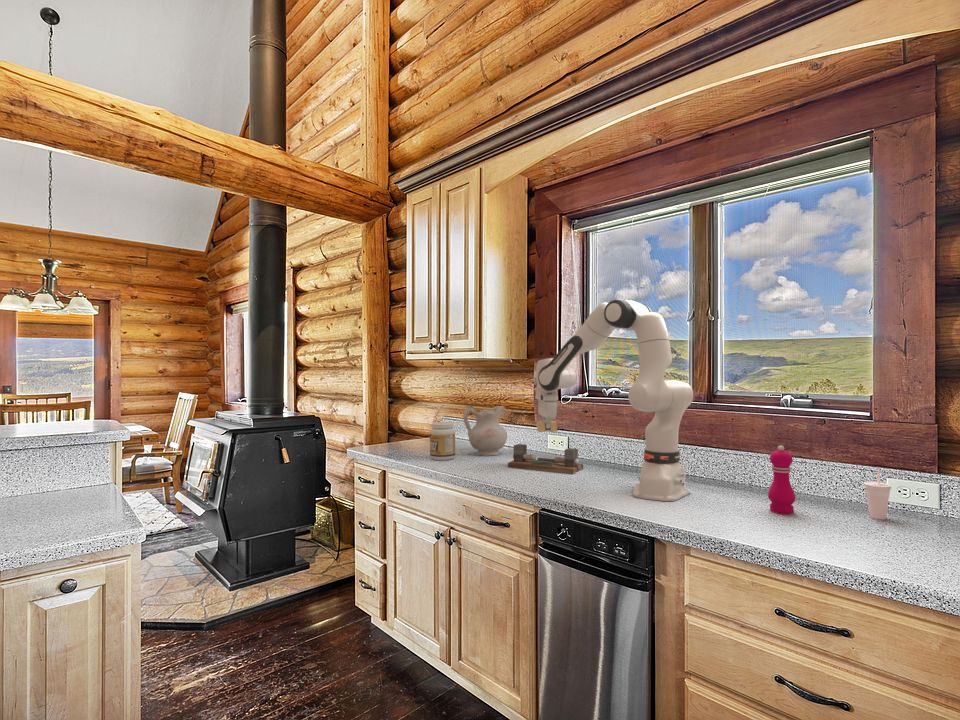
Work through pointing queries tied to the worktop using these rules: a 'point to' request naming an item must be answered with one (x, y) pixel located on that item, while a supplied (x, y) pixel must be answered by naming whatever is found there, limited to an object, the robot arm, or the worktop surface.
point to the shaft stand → (546, 461)
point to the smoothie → (877, 498)
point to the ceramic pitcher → (486, 430)
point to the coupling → (542, 427)
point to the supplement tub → (442, 441)
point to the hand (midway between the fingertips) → (546, 427)
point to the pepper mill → (781, 483)
